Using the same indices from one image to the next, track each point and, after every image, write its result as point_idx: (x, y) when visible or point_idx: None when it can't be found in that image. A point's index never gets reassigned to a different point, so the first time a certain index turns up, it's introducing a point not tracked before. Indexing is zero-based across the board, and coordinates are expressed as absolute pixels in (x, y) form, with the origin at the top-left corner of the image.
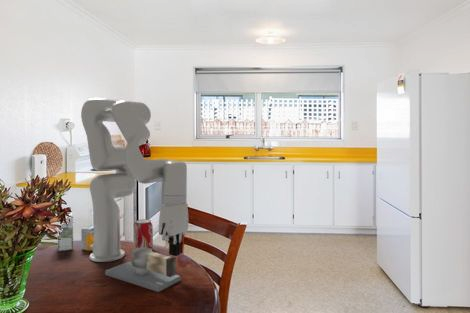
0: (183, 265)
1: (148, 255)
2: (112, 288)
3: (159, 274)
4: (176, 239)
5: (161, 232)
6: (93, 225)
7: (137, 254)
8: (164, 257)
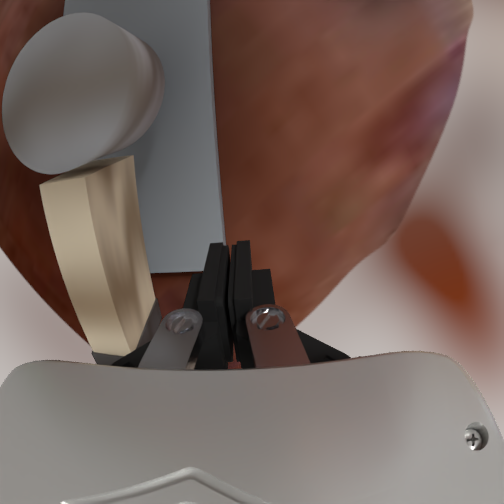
0: (377, 150)
1: (48, 204)
2: None
3: (170, 178)
4: (253, 366)
5: (45, 380)
6: None
7: (10, 138)
8: (96, 329)
